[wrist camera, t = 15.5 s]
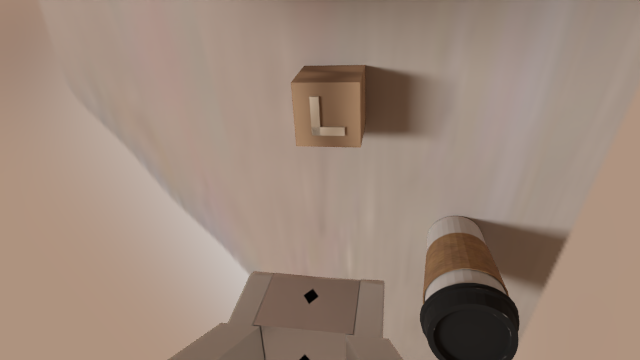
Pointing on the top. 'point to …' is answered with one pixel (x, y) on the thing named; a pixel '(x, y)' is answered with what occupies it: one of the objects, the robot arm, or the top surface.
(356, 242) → the top surface
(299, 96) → the lettered cube
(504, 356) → the coffee cup
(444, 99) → the top surface
